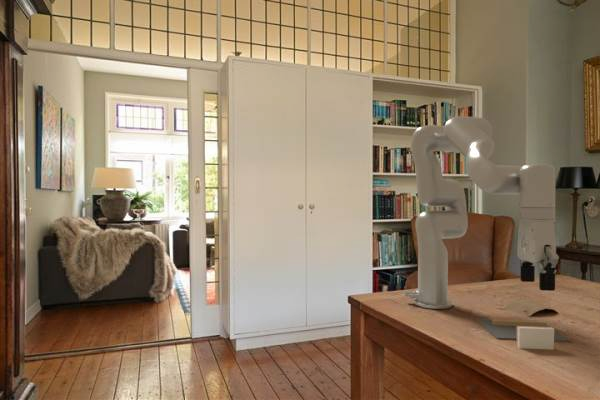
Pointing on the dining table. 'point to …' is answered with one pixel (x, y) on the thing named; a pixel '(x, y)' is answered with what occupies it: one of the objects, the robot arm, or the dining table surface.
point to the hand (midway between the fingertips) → (536, 285)
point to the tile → (535, 337)
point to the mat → (514, 328)
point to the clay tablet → (525, 307)
